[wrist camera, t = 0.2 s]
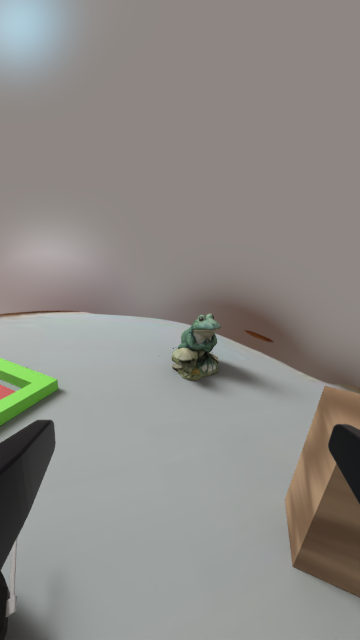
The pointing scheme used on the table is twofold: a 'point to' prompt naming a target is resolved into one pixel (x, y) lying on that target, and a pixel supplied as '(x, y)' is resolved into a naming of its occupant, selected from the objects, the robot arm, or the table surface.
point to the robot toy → (7, 596)
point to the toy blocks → (35, 387)
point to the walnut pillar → (325, 500)
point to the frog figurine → (197, 350)
